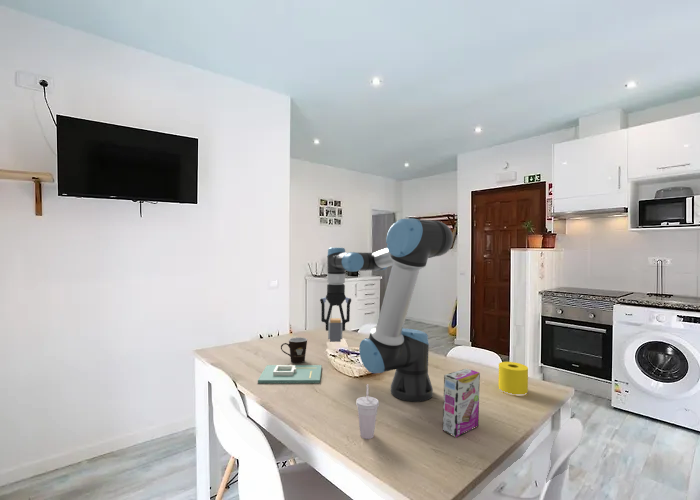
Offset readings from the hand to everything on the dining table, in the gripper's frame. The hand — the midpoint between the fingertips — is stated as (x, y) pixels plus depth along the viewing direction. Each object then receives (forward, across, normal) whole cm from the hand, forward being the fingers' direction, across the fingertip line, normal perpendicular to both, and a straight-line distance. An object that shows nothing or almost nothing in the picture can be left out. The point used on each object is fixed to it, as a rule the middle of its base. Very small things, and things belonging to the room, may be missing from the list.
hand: (335, 338), depth 148 cm
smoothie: (+15, -9, +51) cm, 54 cm away
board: (+15, +18, +3) cm, 23 cm away
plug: (+1, 0, 0) cm, 1 cm away
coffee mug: (+15, +19, -16) cm, 29 cm away
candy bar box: (+15, -37, +48) cm, 62 cm away
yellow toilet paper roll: (+15, -67, +20) cm, 72 cm away
